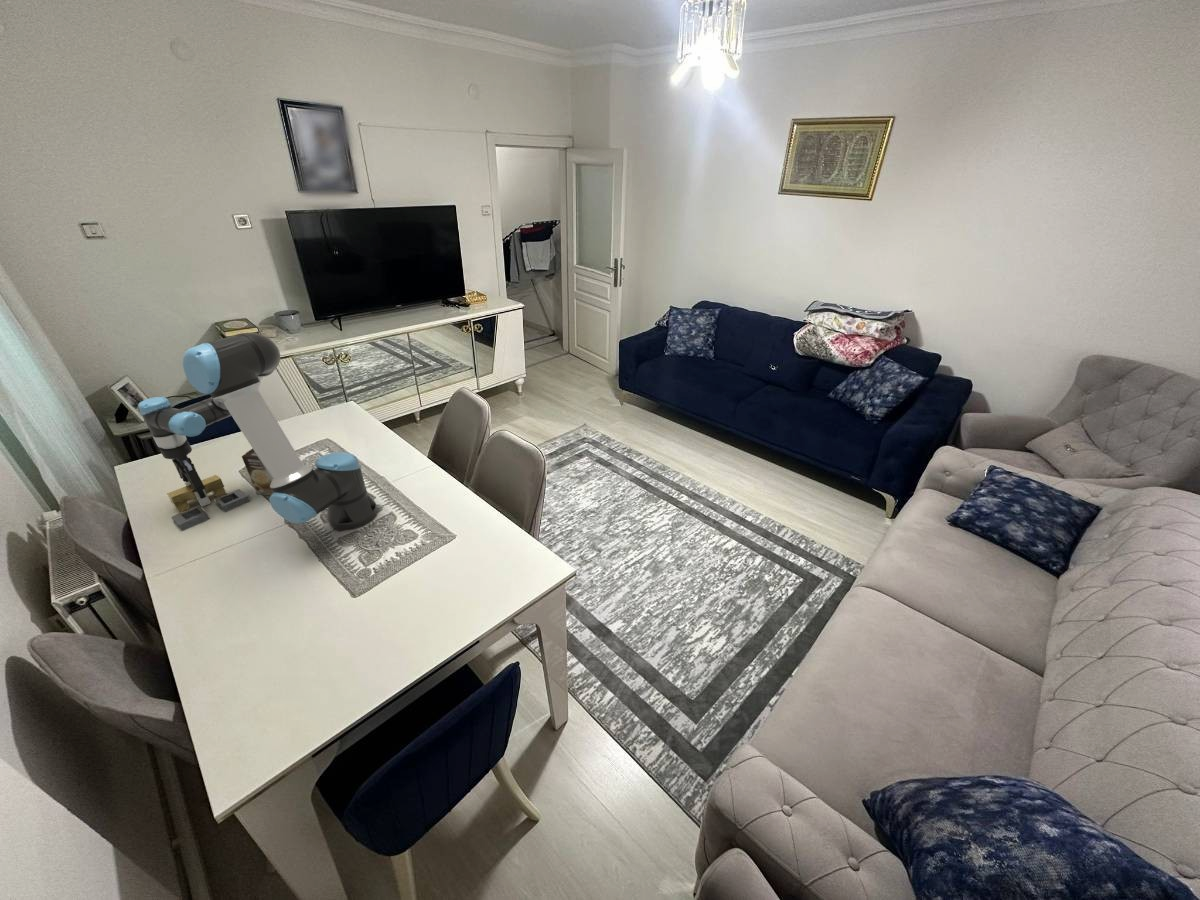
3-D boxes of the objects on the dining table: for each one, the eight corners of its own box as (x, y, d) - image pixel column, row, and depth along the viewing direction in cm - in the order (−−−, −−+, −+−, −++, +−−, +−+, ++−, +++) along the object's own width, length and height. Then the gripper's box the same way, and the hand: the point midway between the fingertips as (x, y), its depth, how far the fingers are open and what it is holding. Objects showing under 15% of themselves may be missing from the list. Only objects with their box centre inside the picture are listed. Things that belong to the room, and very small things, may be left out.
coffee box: (255, 494, 172) (239, 456, 164) (268, 484, 177) (253, 447, 169) (280, 496, 171) (264, 458, 163) (291, 486, 176) (277, 448, 168)
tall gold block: (227, 493, 172) (220, 478, 169) (179, 513, 162) (171, 497, 158) (222, 489, 174) (216, 474, 171) (175, 509, 164) (166, 493, 160)
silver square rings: (250, 501, 168) (248, 495, 167) (182, 530, 154) (179, 524, 153) (241, 494, 172) (239, 488, 170) (174, 522, 157) (171, 516, 156)
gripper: (198, 448, 154) (225, 505, 165) (175, 430, 164) (202, 486, 175) (170, 457, 148) (200, 516, 160) (148, 439, 158) (178, 495, 170)
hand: (201, 500), depth 168 cm, fingers open, 7 cm apart
